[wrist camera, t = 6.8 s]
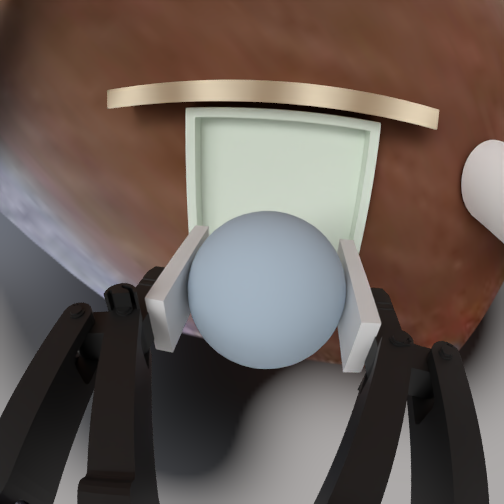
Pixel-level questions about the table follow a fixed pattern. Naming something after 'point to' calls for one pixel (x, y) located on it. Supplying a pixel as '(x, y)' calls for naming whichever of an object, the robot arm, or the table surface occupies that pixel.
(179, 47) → the table surface
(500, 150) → the beverage can
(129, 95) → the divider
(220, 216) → the tray
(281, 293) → the ball
